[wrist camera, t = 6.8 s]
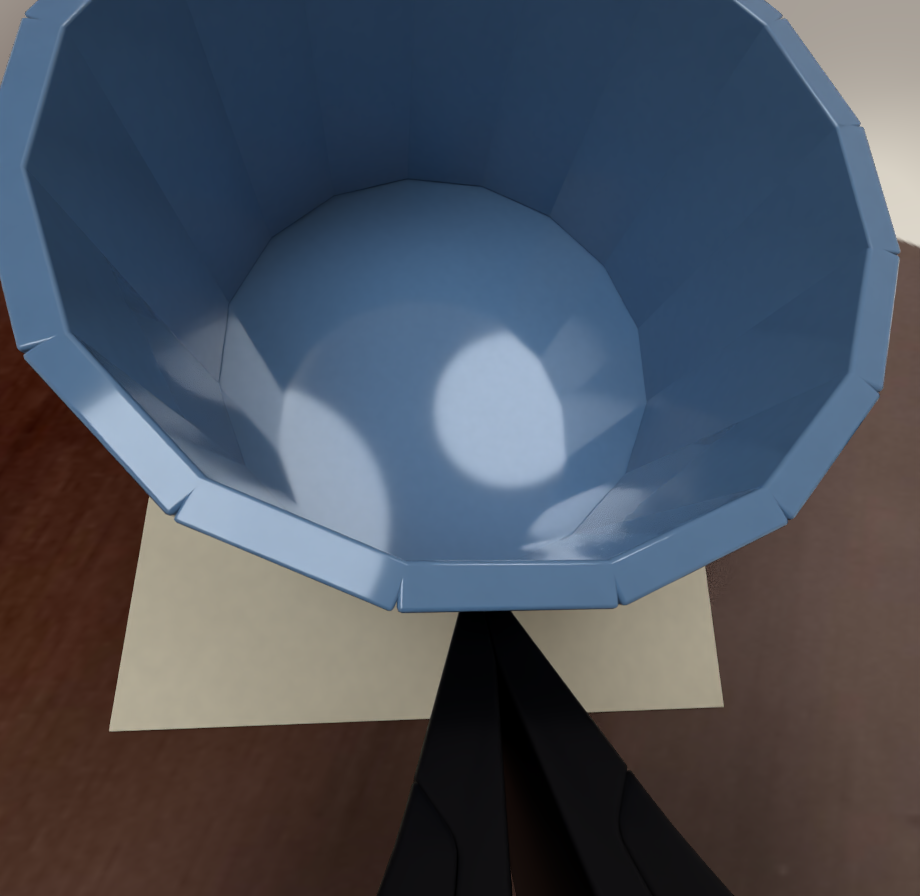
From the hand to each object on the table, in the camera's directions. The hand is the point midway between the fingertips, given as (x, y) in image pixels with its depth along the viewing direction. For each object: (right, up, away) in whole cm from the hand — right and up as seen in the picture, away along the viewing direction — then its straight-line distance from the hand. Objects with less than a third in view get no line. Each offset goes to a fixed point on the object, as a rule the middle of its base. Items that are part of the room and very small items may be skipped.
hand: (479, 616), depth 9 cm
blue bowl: (-1, +6, +9) cm, 11 cm away
